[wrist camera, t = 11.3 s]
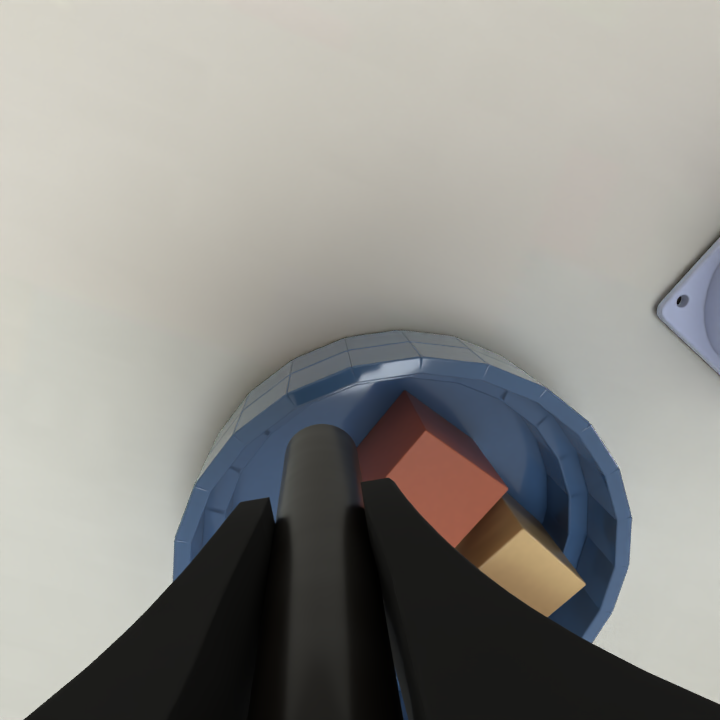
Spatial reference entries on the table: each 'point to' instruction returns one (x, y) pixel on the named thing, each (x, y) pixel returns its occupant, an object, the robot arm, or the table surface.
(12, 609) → the table surface
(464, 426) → the bowl
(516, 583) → the maple block
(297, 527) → the dark grey rod
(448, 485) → the terracotta block
